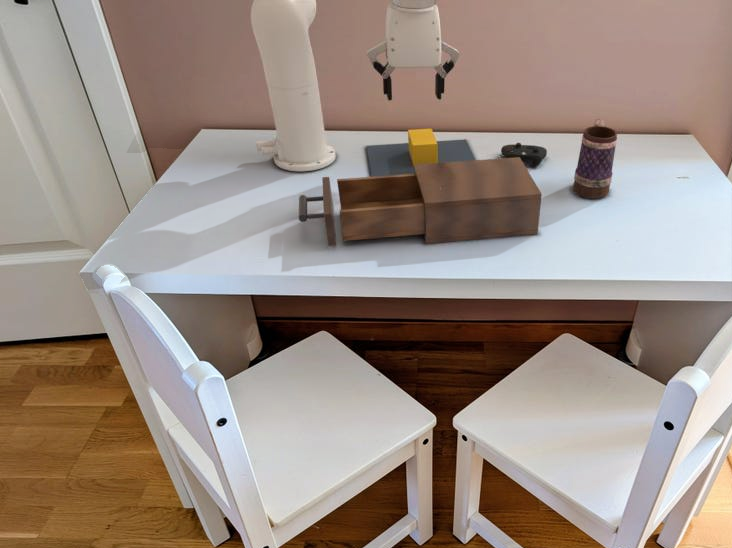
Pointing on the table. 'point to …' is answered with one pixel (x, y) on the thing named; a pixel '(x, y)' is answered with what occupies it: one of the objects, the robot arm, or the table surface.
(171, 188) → the table surface
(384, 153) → the mat
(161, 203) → the table surface
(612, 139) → the brown purple cylinder
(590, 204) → the table surface
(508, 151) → the game controller
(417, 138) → the sponge
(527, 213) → the cabinet
